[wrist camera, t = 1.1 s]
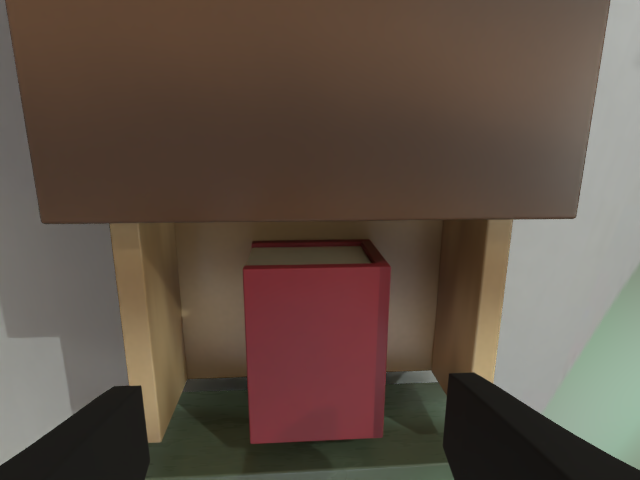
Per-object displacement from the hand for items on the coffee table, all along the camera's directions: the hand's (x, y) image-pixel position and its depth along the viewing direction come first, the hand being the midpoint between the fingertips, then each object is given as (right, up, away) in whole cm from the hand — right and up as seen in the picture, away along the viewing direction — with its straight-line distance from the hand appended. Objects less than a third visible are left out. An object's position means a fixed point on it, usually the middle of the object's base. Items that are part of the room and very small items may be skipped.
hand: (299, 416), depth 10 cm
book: (0, +1, +6) cm, 7 cm away
